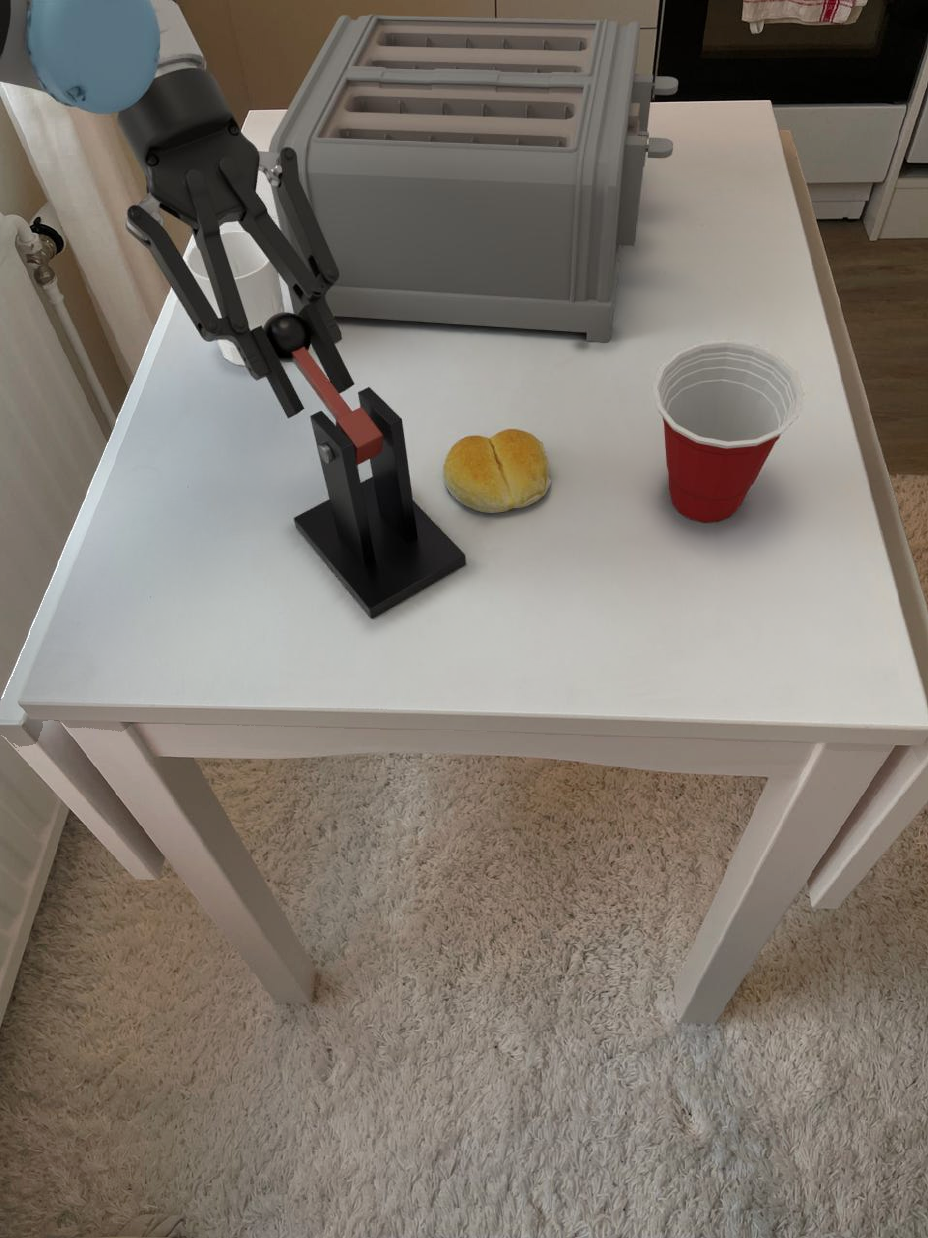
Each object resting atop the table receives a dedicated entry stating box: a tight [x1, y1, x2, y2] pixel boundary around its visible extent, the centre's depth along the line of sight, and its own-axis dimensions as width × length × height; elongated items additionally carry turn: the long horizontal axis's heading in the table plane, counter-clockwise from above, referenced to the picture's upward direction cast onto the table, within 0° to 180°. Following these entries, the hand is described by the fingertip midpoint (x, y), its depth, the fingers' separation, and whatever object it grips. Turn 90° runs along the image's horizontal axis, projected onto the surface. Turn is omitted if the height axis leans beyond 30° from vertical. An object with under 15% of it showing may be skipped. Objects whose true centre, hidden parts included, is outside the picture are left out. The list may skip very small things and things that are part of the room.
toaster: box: [268, 13, 679, 343], centre depth 96 cm, size 31×36×17 cm
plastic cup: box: [652, 339, 806, 523], centre depth 74 cm, size 11×11×12 cm
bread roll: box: [442, 428, 552, 514], centre depth 80 cm, size 8×9×4 cm
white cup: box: [186, 229, 286, 367], centre depth 90 cm, size 8×8×10 cm
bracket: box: [293, 386, 467, 620], centre depth 72 cm, size 12×9×14 cm
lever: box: [263, 311, 383, 466], centre depth 70 cm, size 13×4×4 cm, turn 35°
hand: (320, 400), depth 72 cm, fingers closed on lever, 4 cm apart
